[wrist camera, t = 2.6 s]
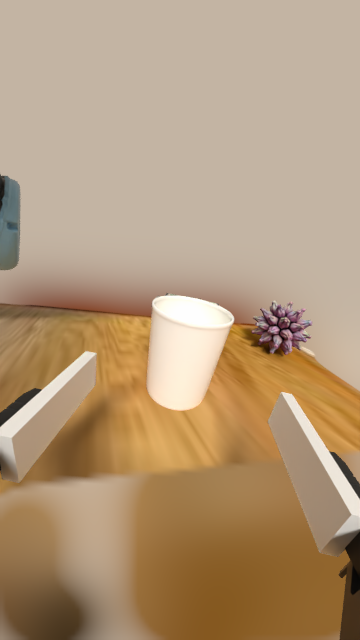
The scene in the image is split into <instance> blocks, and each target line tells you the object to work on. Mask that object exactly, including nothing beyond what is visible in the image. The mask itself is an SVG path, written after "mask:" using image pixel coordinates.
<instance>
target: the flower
mask: <svg viewBox="0 0 360 640" xmlns="http://www.w3.org/2000/svg"><path fill="white" fill-rule="evenodd" d="M292 304H293V302H289V303H288V304H287V305H286V306H285V307H283V308H281V305H278V304H277V302H276V301H272V306H271V307H270V311H267V310H265V309H262V308H261V309H260V310H261V311H262V313H263V315H264V317H263V316H261V317H256V316H254V317H253V319H255V320H256V321H257V323H256V324H255V325H256V326H258V328H257V329H255V330H252V333H255V334H258V335H262V336H261V338H260V339H259V342H258V345H261V344H266V343H268V342H269V347H270V353H272V354H273V353H274V351H275V350H276V349H278V348H279V346H280V348H281V349H282V350H283V352H284V354H285V355H286V354H288V352H289V353H290V352H291V351H292V349H291V347H292V346H293V347H296V348H297V349H299V350H301V349H302V348H301V346H300V343H299V341H303V342H306V341H307V339H305V338H311V335H309V334H308V333H307V332H306V331H304V330H303V329H305V328H306V327H308V326H311V325H312V322H311V321H310V320H299V319H300V317H302V314H303V312H304V311H305V309H304V308H303V309H301V310H297V311H294V312H292Z"/></svg>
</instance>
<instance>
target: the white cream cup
mask: <svg viewBox="0 0 360 640" xmlns="http://www.w3.org/2000/svg"><path fill="white" fill-rule="evenodd" d="M233 323H234V317H233V315H232V314H231V313H230V312H229V311H227V310H226V309H224V308H222V307H220V306H218V305H216V304H213V303H210V302H207V301H204V300H200V299H196V298H191V297H185V296H161V297H157V298H155V299H154V300H153V302H152V316H151V328H150V341H149V353H148V365H147V379H146V386H147V391H148V393H149V395H150V396H151V398H152V399H153V400H154V401H155V402H156V403H158V404H159V405H161V406H163V407H165V408H168V409H172V410H189V409H192V408H194V407H196V406H198V405H199V404H200V403H201V402H202V401H203V399H204V397H205V394H206V392H207V389H208V387H209V384H210V382H211V379H212V376H213V374H214V371H215V368H216V366H217V363H218V361H219V358H220V355H221V353H222V350H223V347H224V345H225V342H226V339H227V337H228V334H229V331H230V329H231V326H232V325H233Z"/></svg>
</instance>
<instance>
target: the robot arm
mask: <svg viewBox="0 0 360 640" xmlns="http://www.w3.org/2000/svg"><path fill="white" fill-rule="evenodd" d="M19 243H20V186H19V184H18V183H17V182H16V181H15V180H12V179H10V178H9V177H8V176H1V175H0V270H10V269H13V268H14V267H16V266H17V264H18V261H19ZM95 383H96V353H93V352H88V351H86V352H84V353H83V354H82V355H81V356H80V357H79V358H78V359H77V360H75V361H74V362H73V363H72V364H71V365H70V366H69V367H67V368H66V369H65V370H64V371H63V372H62V373H61V374H60V375H58V376H57V377H56V378H55V379H54V380H53V381H52V382H51V383H49V384H48V385H47V386H46V387H45V388H44V389H43V390H41V389H36V388H34V389H32V390H30V391H28V392H26V393H24V394H23V395H22V396H20V397H19V398H18V399H17V400H15V402H14V403H12V404H11V405H9V406H8V407H7V409H4V410H3V411H2V412H1V413H0V471H1V474H2V479H4V480H9V481H13V482H17V483H20V481H21V480H22V479H23V477H24V476H25V475H26V474H27V472H28V471H29V470H30V468H31V467H32V466H33V465H34V463H35V462H36V461H37V459H38V458H39V457H40V456H41V454H42V453H43V452H44V450H45V449H46V448H47V447H48V445H49V444H50V443H51V441H52V440H53V439H54V438H55V436H56V435H57V434H58V432H59V431H60V430H61V429H62V427H63V426H64V425H65V423H66V422H67V421H68V419H69V418H70V417H71V416H72V414H73V413H74V412H75V410H76V409H77V408H78V407H79V405H80V404H81V403H82V401H83V400H84V399H85V398H86V396H87V395H88V394H89V392H90V391H91V390H92V389H93V387H94V386H95ZM268 424H269V426H270V429H271V431H272V434H273V436H274V439H275V441H276V444H277V446H278V449H279V451H280V454H281V456H282V459H283V461H284V464H285V466H286V469H287V471H288V474H289V476H290V479H291V481H292V484H293V486H294V489H295V491H296V494H297V496H298V499H299V502H300V504H301V507H302V509H303V512H304V514H305V516H306V519H307V522H308V524H309V527H310V529H311V532H312V534H313V537H314V539H315V542H316V544H317V546H318V549H319V552H320V553H324V554H328V555H333V556H337V557H338V556H339V555H340V554H341V553H342V552H343V551H344V550H345V549H346V551H347V554H348V555H349V558H350V560H351V561H350V562H349V563H348V564H347V565H346V566H345V567H344V568H343V569H342V570H341V571H340V573H339V576H340V577H341V578H343V577H344V576H345V575H346V574H347V575H346V584H345V595H344V603H343V613H342V622H341V631H340V640H360V484H359V482H358V481H357V480H356V478H355V477H353V474H352V472H351V471H350V469H349V468H348V466H347V465H346V463H345V462H344V461H342V459H341V458H340V457H339V456H338V455H337V454H336V453H334V452H330V451H328V449H327V448H326V446H325V445H324V443H323V442H322V440H321V438H320V437H319V435H318V434H317V432H316V431H315V429H314V428H313V426H312V424H311V423H310V421H309V420H308V418H307V417H306V415H305V414H304V412H303V410H302V409H301V407H300V406H299V404H298V403H297V401H296V400H295V398H294V396H293V395H292V394H288V393H283V392H281V393H280V395H279V398H278V400H277V402H276V404H275V407H274V409H273V411H272V413H271V416H270V418H269V420H268Z"/></svg>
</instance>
